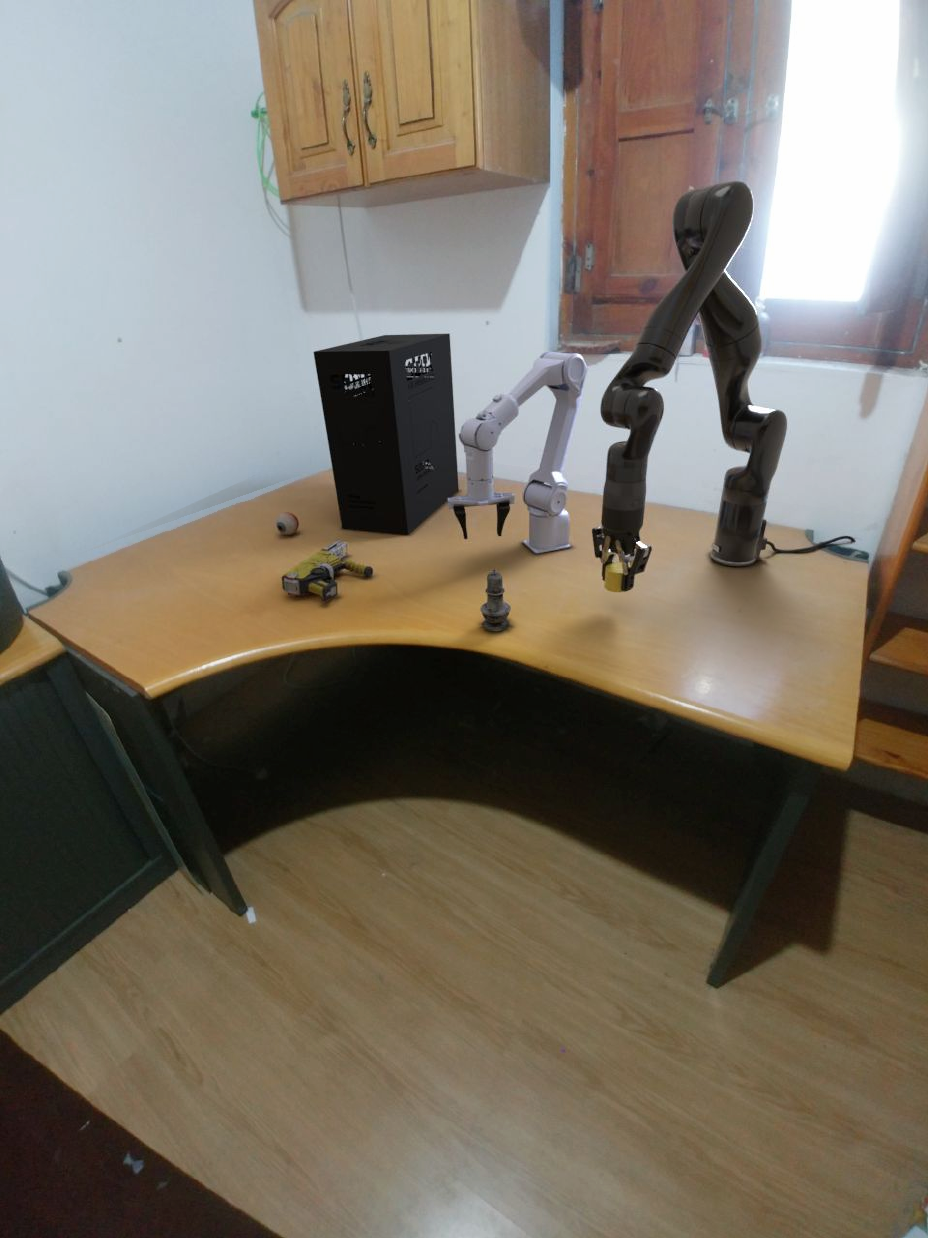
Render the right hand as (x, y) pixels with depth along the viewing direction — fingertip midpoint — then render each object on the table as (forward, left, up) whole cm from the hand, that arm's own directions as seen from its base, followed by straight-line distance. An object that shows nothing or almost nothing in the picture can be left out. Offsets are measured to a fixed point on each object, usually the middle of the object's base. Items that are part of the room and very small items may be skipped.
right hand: (616, 584), depth 118 cm
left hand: (+20, -27, +3) cm, 34 cm away
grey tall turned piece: (+24, -1, -5) cm, 25 cm away
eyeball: (+65, -65, -5) cm, 92 cm away
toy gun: (+53, -32, -5) cm, 63 cm away
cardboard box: (+32, -75, -5) cm, 81 cm away
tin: (0, 0, 0) cm, 0 cm away
